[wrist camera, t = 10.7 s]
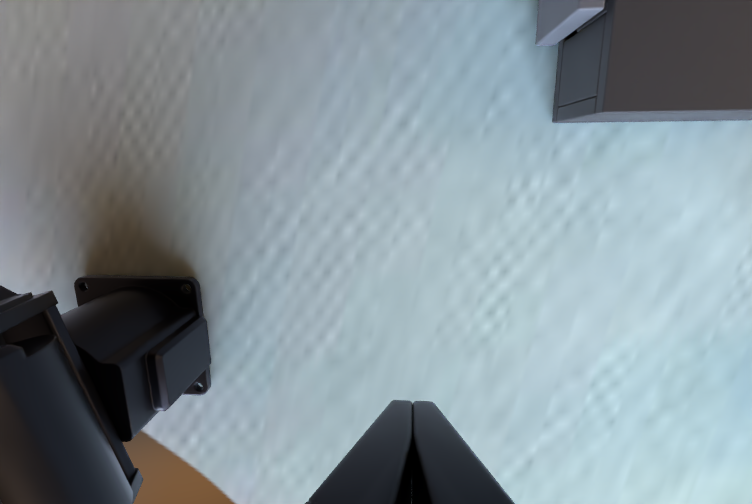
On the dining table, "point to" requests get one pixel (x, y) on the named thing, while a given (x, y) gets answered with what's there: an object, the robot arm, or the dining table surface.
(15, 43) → the dining table surface
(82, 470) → the robot arm
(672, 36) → the tape case
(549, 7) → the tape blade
